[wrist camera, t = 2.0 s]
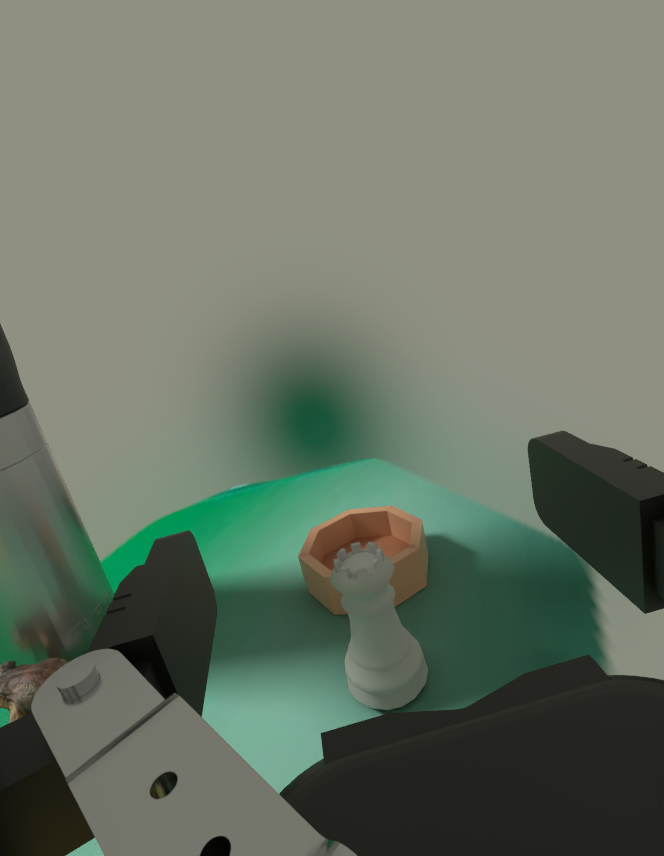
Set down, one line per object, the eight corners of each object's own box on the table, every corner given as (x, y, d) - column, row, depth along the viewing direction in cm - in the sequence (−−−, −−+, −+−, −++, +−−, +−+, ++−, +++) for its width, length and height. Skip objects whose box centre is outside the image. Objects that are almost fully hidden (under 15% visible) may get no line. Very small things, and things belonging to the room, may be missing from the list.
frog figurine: (-79, 829, 26) (-117, 777, 25) (44, 655, 37) (23, 613, 36) (133, 790, 25) (105, 734, 24) (193, 625, 37) (176, 581, 35)
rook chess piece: (344, 719, 26) (307, 590, 23) (351, 652, 30) (320, 537, 27) (432, 713, 25) (403, 578, 22) (427, 645, 29) (402, 526, 27)
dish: (298, 616, 34) (287, 579, 33) (326, 544, 42) (318, 512, 41) (425, 611, 32) (417, 571, 31) (430, 536, 39) (423, 502, 38)
